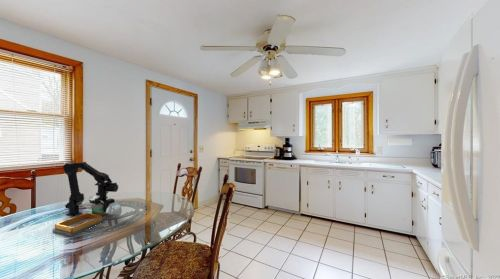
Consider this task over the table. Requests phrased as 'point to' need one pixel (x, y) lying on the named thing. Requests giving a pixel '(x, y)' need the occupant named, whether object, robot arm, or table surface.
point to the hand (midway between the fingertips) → (101, 211)
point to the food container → (98, 209)
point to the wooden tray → (77, 224)
